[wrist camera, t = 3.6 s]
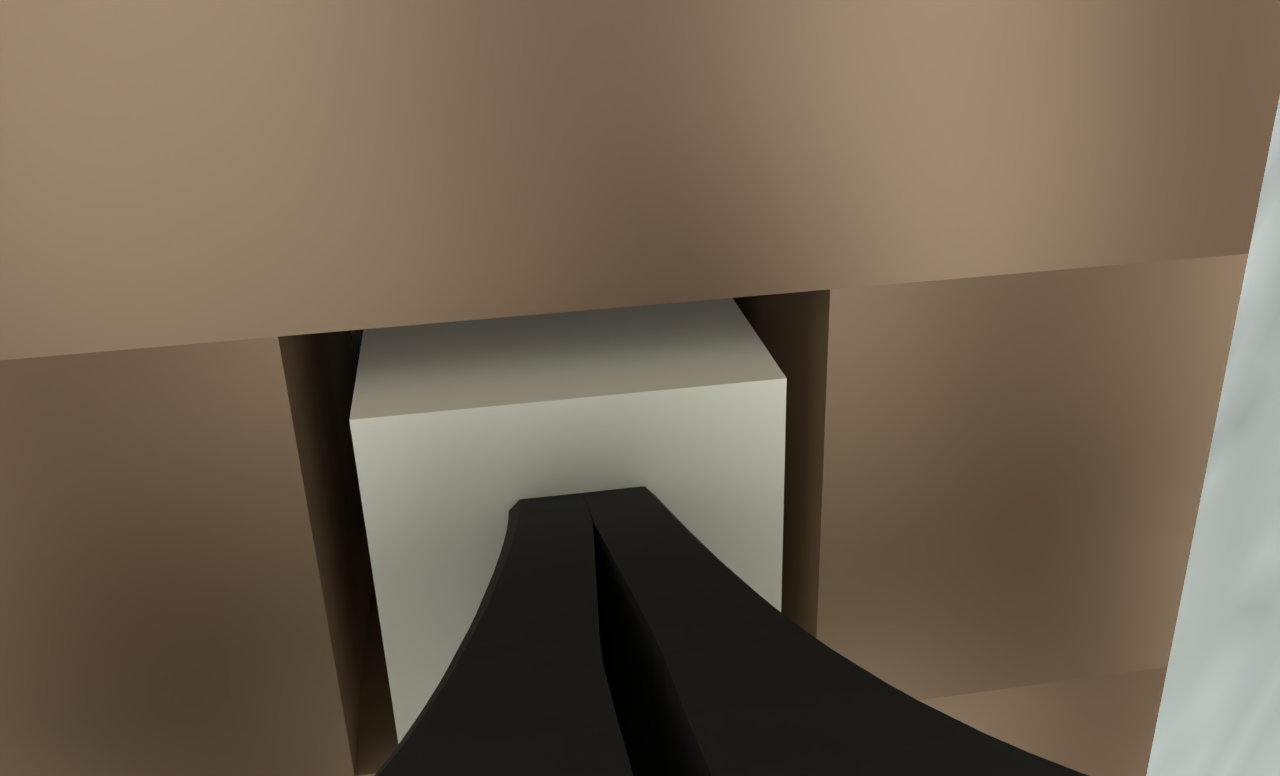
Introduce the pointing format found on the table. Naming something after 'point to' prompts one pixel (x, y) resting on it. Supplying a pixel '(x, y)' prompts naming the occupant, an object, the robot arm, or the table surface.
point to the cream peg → (554, 451)
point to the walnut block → (599, 279)
